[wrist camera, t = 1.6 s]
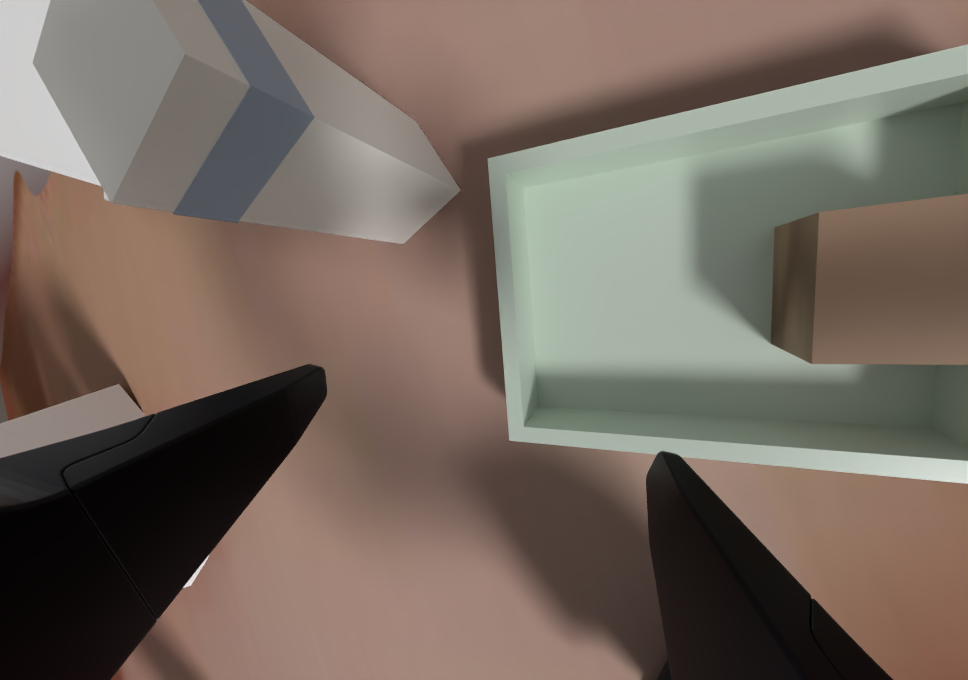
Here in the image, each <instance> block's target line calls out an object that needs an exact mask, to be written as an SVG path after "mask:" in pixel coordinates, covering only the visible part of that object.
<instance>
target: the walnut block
mask: <svg viewBox="0 0 968 680" xmlns="http://www.w3.org/2000/svg"><path fill="white" fill-rule="evenodd" d="M771 344H772V345H774V346H776V347H778V348H780V349H782V350H784V351H786V352H788V353H790V354H792V355H794V356H796V357H798V358H800V359H802V360H804V361H806V362H808V363H810V364H902V365H968V194H961V195H953V196H945V197H937V198H929V199H921V200H913V201H905V202H897V203H889V204H881V205H873V206H865V207H857V208H849V209H841V210H833V211H825V212H818V213H815V214H812V215H810V216H807V217H804V218H801V219H798V220H795V221H792V222H789V223H786V224H783V225H780V226H778V227H775V228H774V258H773V290H772V321H771Z"/></svg>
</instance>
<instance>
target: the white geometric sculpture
mask: <svg viewBox="0 0 968 680" xmlns="http://www.w3.org/2000/svg"><path fill="white" fill-rule="evenodd" d="M142 416H144V413H143V412H142V411H141V410H140V408H139V407H138V406H137V405H136V404H135V402H134V401H133V400H132V399H131V398H130V397H129V395H128V394H127V393H126V392H125V391H124V389H123V388H122V387H121V386H120V385H119V384H117V385H114V386H111V387H108V388H105V389H102V390H99V391H96V392H93V393H90V394H87V395H84V396H81V397H78V398H75V399H72V400H69V401H66V402H63V403H60V404H57V405H54V406H51V407H48V408H46V409H43V410H40V411H37V412H34V413H31V414H28V415H25V416H22V417H19V418H16V419H13V420H10V421H7V422H4V423H1V424H0V458H2V457H6V456H9V455H13V454H17V453H20V452H24V451H28V450H31V449H35V448H39V447H42V446H46V445H50V444H53V443H57V442H61V441H64V440H68V439H72V438H75V437H79V436H82V435H86V434H89V433H93V432H96V431H100V430H104V429H107V428H110V427H113V426H117V425H120V424H123V423H126V422H130V421H133V420H136V419H139V418H141V417H142ZM209 556H210V554H209V555H208V557H209ZM208 557H207V558H206V559H205V560H204V562H203V563H202V564H201V566H200V567H199V568H198V569H197V571H196V572H195V573H194V574H193V576H192V577H191V578H190V579H189V581H188V582H187V583H186V584H185V586H184V587H188V586H191V585H192V583H193V581H194V580H195V578H196V577H197V575H198V573H199V572H200V570H201V569H202V567H203V565H204V564H205V562H206V561H207V559H208ZM184 587H183V588H184Z"/></svg>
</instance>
